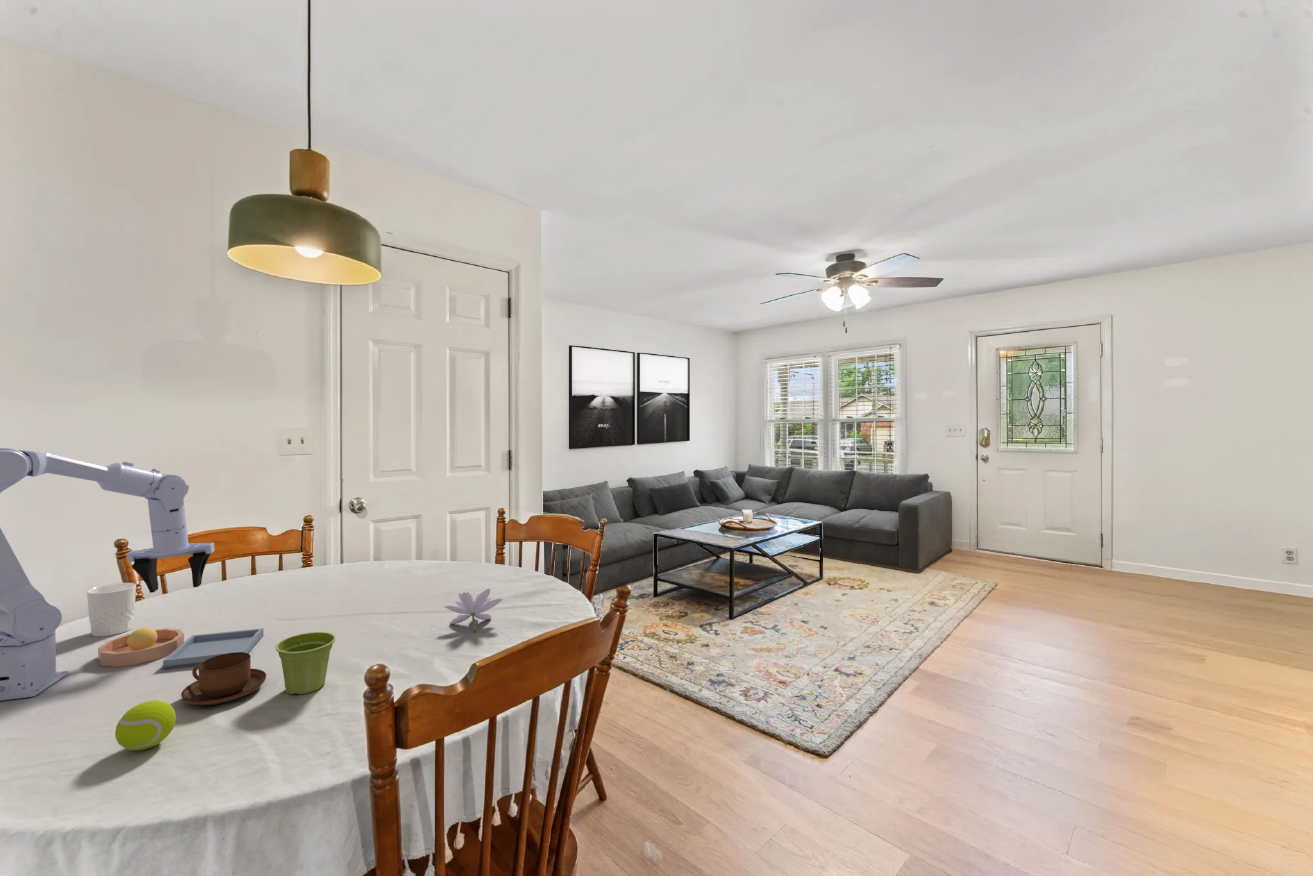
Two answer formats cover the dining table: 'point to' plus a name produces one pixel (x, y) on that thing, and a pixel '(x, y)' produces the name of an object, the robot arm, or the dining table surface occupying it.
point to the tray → (212, 647)
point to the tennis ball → (145, 725)
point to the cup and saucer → (223, 679)
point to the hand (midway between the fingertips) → (176, 588)
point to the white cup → (111, 608)
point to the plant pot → (305, 660)
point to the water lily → (473, 607)
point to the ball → (142, 638)
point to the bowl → (122, 655)
